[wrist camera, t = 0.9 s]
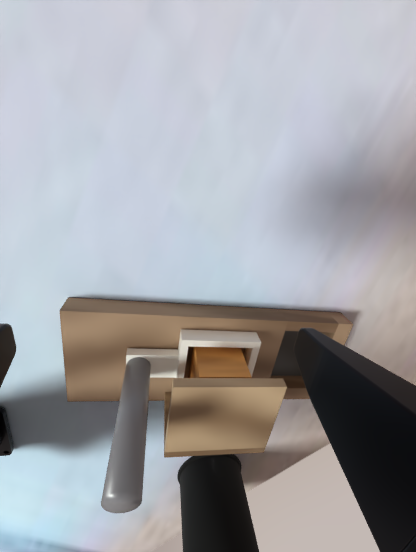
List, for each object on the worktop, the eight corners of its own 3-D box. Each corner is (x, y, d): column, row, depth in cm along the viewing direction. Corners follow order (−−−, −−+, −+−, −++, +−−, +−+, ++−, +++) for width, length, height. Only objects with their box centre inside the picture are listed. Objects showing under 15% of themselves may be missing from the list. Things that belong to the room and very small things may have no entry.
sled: (241, 387, 26) (282, 519, 17) (126, 388, 24) (101, 537, 15) (256, 332, 24) (315, 451, 14) (128, 327, 22) (100, 463, 12)
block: (230, 376, 26) (241, 414, 22) (188, 376, 25) (192, 415, 21) (238, 343, 24) (251, 377, 20) (194, 341, 23) (199, 376, 20)
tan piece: (311, 383, 31) (353, 451, 24) (74, 384, 26) (42, 468, 19) (340, 312, 27) (400, 368, 20) (68, 297, 22) (25, 364, 15)
